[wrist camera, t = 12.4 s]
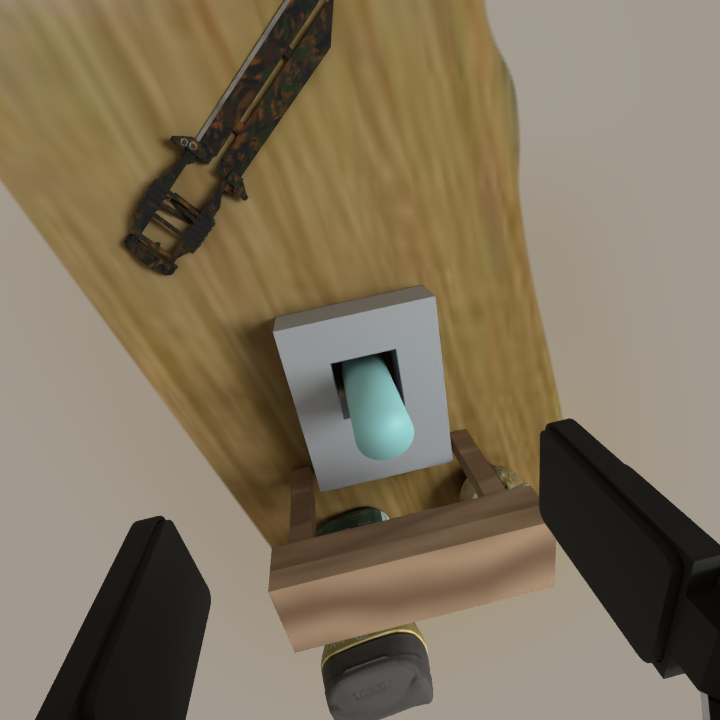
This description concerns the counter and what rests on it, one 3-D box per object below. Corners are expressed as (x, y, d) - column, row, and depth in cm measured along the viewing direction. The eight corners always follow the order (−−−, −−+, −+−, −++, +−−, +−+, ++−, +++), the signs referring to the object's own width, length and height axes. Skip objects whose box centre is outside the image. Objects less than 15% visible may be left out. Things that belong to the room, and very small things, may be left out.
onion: (442, 471, 47) (467, 523, 40) (504, 443, 46) (542, 491, 39) (461, 512, 50) (487, 568, 43) (520, 487, 50) (557, 539, 42)
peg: (336, 351, 39) (349, 418, 28) (380, 342, 39) (410, 403, 28) (345, 390, 41) (361, 465, 30) (387, 380, 41) (417, 452, 30)
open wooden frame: (281, 437, 42) (268, 591, 26) (463, 395, 43) (556, 520, 27) (297, 487, 45) (294, 652, 29) (467, 446, 46) (554, 586, 30)
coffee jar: (331, 565, 51) (344, 754, 34) (306, 524, 48) (308, 711, 31) (401, 538, 51) (450, 716, 34) (381, 496, 47) (425, 669, 30)
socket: (275, 317, 37) (272, 332, 33) (422, 284, 37) (435, 296, 34) (319, 467, 44) (321, 492, 41) (440, 438, 45) (452, 461, 41)
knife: (321, -45, 27) (322, -56, 26) (384, 42, 30) (388, 35, 28) (106, 227, 32) (98, 228, 31) (175, 282, 35) (170, 286, 33)
